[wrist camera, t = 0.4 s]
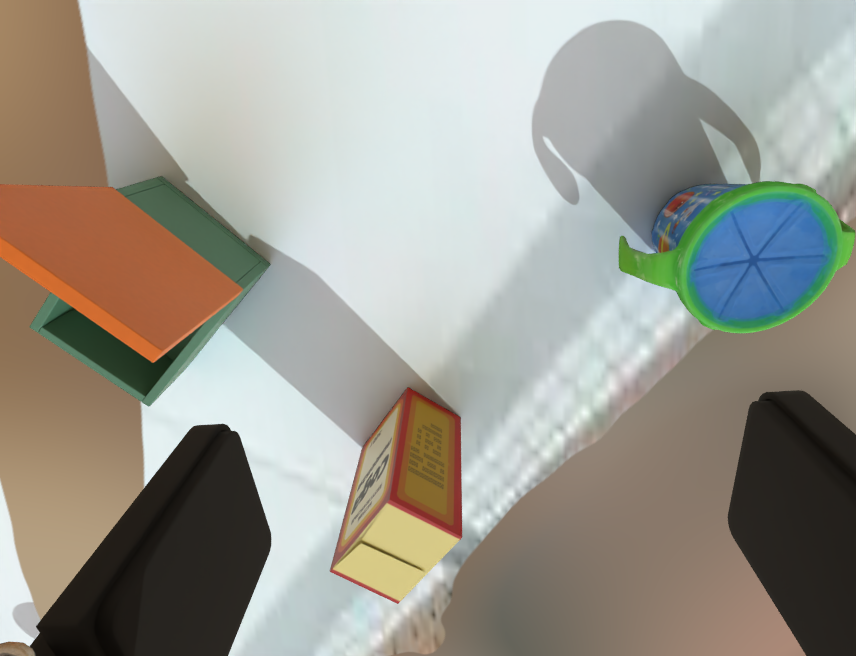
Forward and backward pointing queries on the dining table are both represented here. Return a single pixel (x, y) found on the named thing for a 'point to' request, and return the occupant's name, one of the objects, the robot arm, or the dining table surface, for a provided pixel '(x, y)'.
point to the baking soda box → (403, 499)
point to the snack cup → (744, 252)
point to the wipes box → (155, 378)
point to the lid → (111, 263)
